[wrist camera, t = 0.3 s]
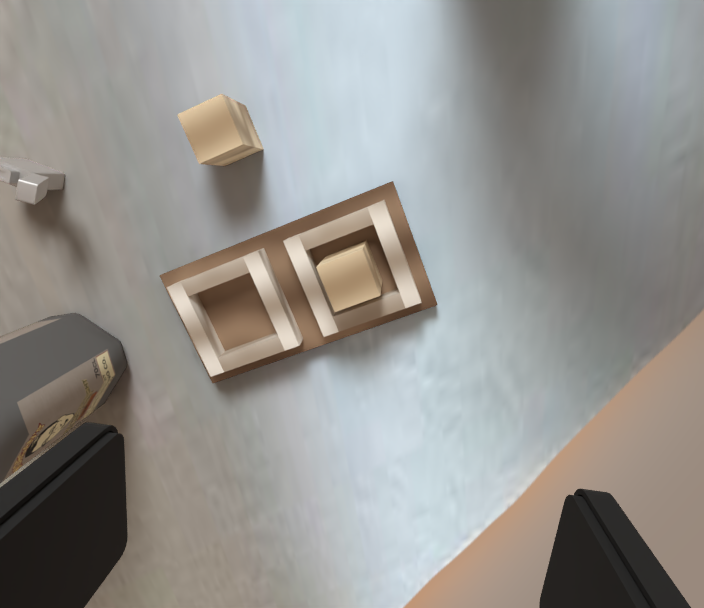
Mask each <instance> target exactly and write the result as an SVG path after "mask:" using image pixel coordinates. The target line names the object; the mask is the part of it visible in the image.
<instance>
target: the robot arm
mask: <svg viewBox="0 0 704 608" xmlns="http://www.w3.org/2000/svg"><path fill="white" fill-rule="evenodd" d="M126 543H127V510H126V482H125V453H124V437H123V435H121V434H118V431H117V429H116V427H114V426H112V425H104V424H97V423H84V424H82V425H81V426H80V427H78V428H77V429H76V430H74V431H73V432H72V433H71V434H69V435H68V436H67V437H65V438H64V439H63V440H62V441H60V442H59V443H58V444H56V445H55V446H54V447H52V448H51V449H50V450H49V451H47V452H46V453H45V454H43V455H42V456H41V457H40V458H38V459H37V460H36V461H34V462H33V463H32V464H31V465H29V466H28V467H27V468H25V469H24V470H23V471H21V472H20V473H19V474H18V475H16V476H15V477H14V478H12V479H11V480H10V481H9V482H7V483H6V484H5V485H3V486H2V487H1V488H0V608H84V607H85V606H86V604H87V603H88V601H89V600H90V599H91V597H92V596H93V595H94V593H95V592H96V590H97V589H98V588H99V586H100V585H101V584H102V582H103V581H104V580H105V578H106V577H107V575H108V574H109V573H110V571H111V570H112V569H113V567H114V566H115V564H116V563H117V562H118V560H119V559H120V557H121V556H122V554H123V552H124V550H125V547H126ZM540 608H691V607H690V606H689V604H688V603H687V601H686V600H685V598H684V597H683V596H682V594H681V593H680V591H679V590H678V589H677V587H676V586H675V584H674V583H673V581H672V580H671V579H670V577H669V576H668V574H667V573H666V571H665V570H664V569H663V567H662V566H661V564H660V563H659V561H658V560H657V559H656V557H655V556H654V554H653V553H652V551H651V550H650V549H649V547H648V546H647V544H646V543H645V542H644V540H643V539H642V537H641V536H640V535H639V533H638V532H637V530H636V529H635V527H634V526H633V525H632V523H631V522H630V520H629V519H628V517H627V516H626V514H625V513H624V512H623V510H622V509H621V507H620V506H619V504H618V503H617V502H616V500H615V499H614V498H613V496H612V495H611V494H610V493H607V492H600V491H592V490H586V489H578V490H576V492H575V493H574V495H568V496H567V497H566V499H565V502H564V506H563V510H562V514H561V518H560V522H559V526H558V530H557V534H556V537H555V542H554V546H553V549H552V553H551V557H550V562H549V566H548V569H547V573H546V577H545V581H544V585H543V589H542V593H541V597H540Z"/></svg>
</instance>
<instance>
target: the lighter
mask: <svg viewBox="0 0 704 608" xmlns="http://www.w3.org/2000/svg"><path fill="white" fill-rule="evenodd" d="M64 179H65V174H64V172H61V171H58V170H56V169H53V168H50V167H48V166H45V165H43V164H40V163H37V162H35V161H32V160H29V159H26V158H9V157H0V181H3V182H5V183H8V184H10V185H13V186H16V187H17V190H16V197H15V200H17V201H21V202H25V203H29V204H33V205H35V204H36V203H38V202H39V201H40V200H42V199H43V198H44V197H46V194H47V190H62V189H63V184H64Z"/></svg>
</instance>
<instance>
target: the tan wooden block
mask: <svg viewBox="0 0 704 608" xmlns="http://www.w3.org/2000/svg"><path fill="white" fill-rule="evenodd" d="M178 117H179V120H180V122H181V124H182V126H183V129H184V131H185V133H186V135H187V137H188V140H189V142H190V144H191V146H192V149H193V151H194V153H195V155H196V158H197V160H198V162H199V164H207V165H219V166H227V165H229V164H231V163H233V162H236V161H238V160H240V159H242V158H245V157H247V156H249V155H252V154H254V153H256V152H258V151H261V150H263V147H262V144H261V142H260V139H259V137H258V135H257V132H256V130H255V127H254V125H253V122H252V120H251V118H250V115H249V113H248V110H247V108H246V106H245V105H243V104H241V103H239V102H237V101H235V100H233V99H231V98H229V97H227V96H225V95H223V94H220V95H218V96H216V97H214V98H212V99H210V100H207V101H205V102H203V103H201V104H199V105H197V106H195V107H193V108H190V109H188V110H186V111H184V112H182V113H180V114H178Z"/></svg>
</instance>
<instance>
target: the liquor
mask: <svg viewBox="0 0 704 608" xmlns="http://www.w3.org/2000/svg"><path fill="white" fill-rule="evenodd" d="M126 366H127V362H126V358H125V355H124V352H123V349H122V345H121V342H120V341H119V340H118V339H116V338H115V337H113V336H112V335H110V334H109V333H107V332H106V331H104V330H103V329H101V328H100V327H98V326H97V325H95V324H94V323H92V322H91V321H89V320H88V319H86V318H85V317H83V316H82V315H80V314H77V313H71V314H64V315H58V316H51V317H48V318H46V319H43V320H41V321H38V322H36V323H33V324H31V325H28V326H26V327H23V328H21V329H18V330H16V331H13V332H11V333H8V334H6V335H3V336H1V337H0V483H1V482H2V481H4V480H5V479H6V478H8V477H9V476H10V475H12V474H13V473H14V472H15V471H17V470H18V469H19V468H21V467H22V466H23V465H25V464H26V463H27V462H28V461H30V460H31V459H32V458H34V457H35V456H36V455H38V454H39V453H40V452H41V451H43V450H44V449H45V448H47V447H48V446H49V445H51V444H52V443H53V442H54V441H56V440H57V439H58V438H60V437H61V436H62V435H64V434H65V433H66V432H67V431H69V430H70V429H71V428H73V427H74V426H75V425H77V424H78V423H79V422H80V421H82V420H83V419H84V418H86V417H87V416H88V415H90V414H91V413H92V412H93V411H95V410H96V409H97V408H99V407H100V406H101V405H103V404H104V403H105V401H106V400H107V398H108V396H109V395H110V393H111V391H112V390H113V388H114V386H115V385H116V383H117V381H118V380H119V378H120V376H121V375H122V373H123V371H124V370H125V368H126Z"/></svg>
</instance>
